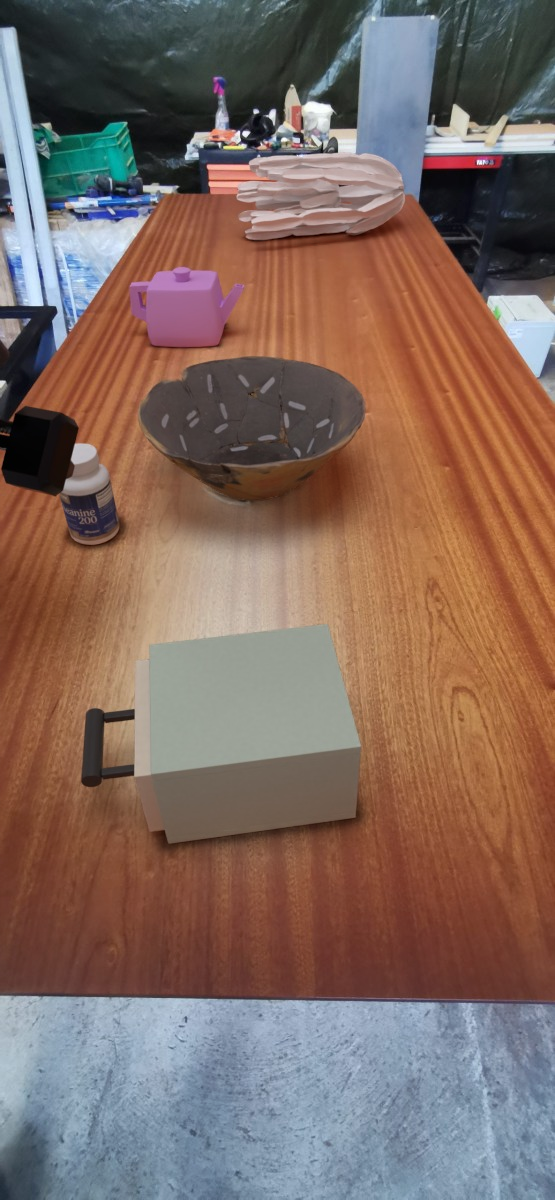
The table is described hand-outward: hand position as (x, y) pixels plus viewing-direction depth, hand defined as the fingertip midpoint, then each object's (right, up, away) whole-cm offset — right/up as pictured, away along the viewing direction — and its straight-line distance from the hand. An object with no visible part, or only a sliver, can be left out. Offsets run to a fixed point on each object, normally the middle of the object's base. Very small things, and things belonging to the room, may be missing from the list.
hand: (29, 461), depth 67 cm
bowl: (+20, +1, +20) cm, 28 cm away
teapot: (+9, +30, +51) cm, 60 cm away
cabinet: (+21, -25, -10) cm, 34 cm away
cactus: (+32, +65, +88) cm, 114 cm away
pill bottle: (+3, -5, +13) cm, 14 cm away
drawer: (+17, -25, -11) cm, 32 cm away
